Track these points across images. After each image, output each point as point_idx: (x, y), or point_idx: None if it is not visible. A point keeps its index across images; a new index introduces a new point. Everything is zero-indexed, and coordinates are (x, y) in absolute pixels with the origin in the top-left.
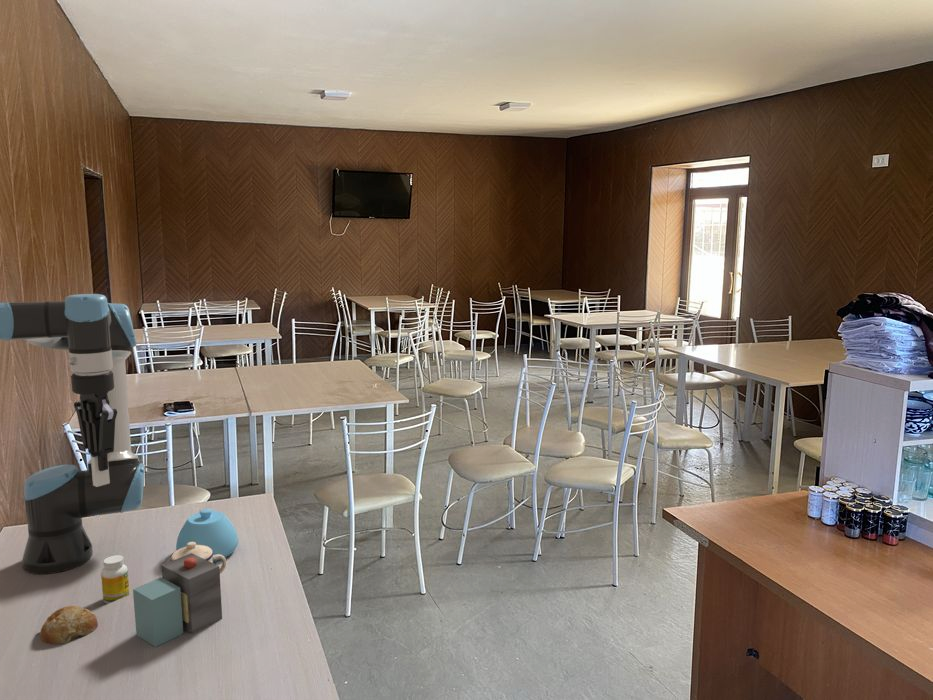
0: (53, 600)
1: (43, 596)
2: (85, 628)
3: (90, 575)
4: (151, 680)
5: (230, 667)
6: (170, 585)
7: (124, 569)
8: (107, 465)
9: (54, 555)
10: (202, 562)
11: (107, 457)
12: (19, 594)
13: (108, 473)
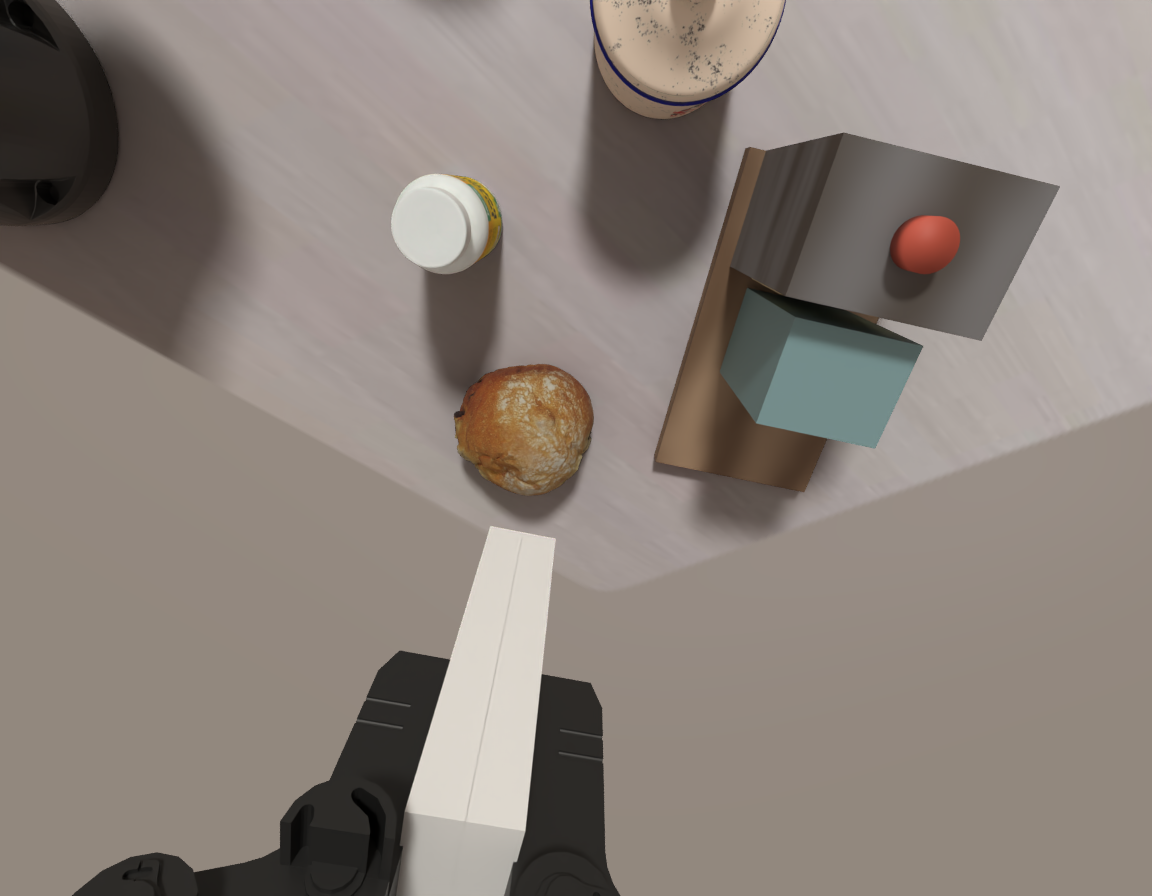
0: (303, 314)
1: (252, 311)
2: (589, 432)
3: (227, 135)
4: (867, 463)
5: (1040, 350)
6: (874, 349)
7: (478, 211)
8: (598, 731)
9: (46, 174)
10: (956, 191)
11: (529, 762)
12: (181, 334)
13: (547, 604)
